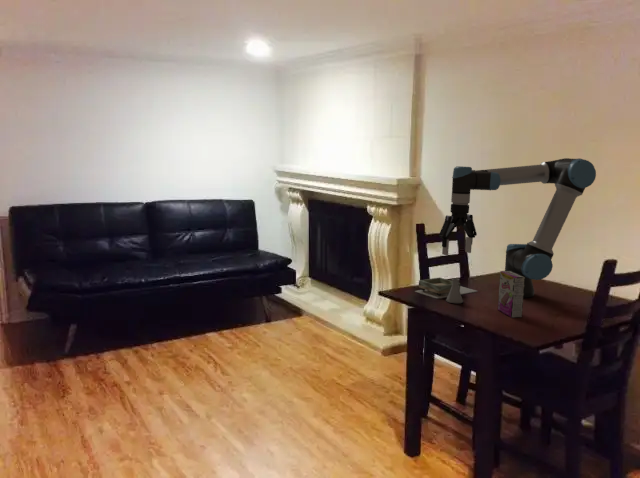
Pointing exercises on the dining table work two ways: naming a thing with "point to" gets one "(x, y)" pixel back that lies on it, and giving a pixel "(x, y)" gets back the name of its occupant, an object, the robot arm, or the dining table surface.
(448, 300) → the flask
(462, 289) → the mat
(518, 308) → the candy bar box
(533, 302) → the dining table surface
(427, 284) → the square tray
